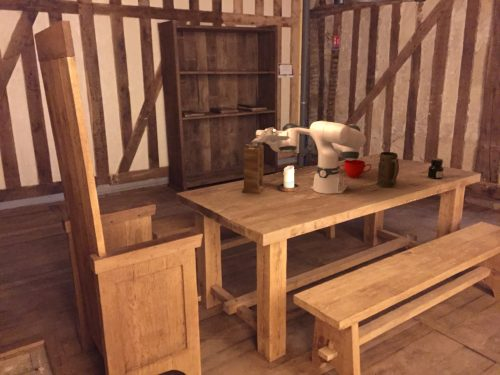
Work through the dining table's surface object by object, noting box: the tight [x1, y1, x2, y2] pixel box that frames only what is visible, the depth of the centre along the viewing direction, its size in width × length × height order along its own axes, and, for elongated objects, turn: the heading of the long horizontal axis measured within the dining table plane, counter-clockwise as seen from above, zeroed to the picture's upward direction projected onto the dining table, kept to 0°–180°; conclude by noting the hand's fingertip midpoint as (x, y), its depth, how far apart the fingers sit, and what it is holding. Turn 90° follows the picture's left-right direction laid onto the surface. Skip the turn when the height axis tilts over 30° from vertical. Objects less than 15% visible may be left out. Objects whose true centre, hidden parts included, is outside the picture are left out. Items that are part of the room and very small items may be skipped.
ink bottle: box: [427, 157, 444, 180], centre depth 280 cm, size 10×9×12 cm
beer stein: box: [376, 151, 400, 189], centre depth 258 cm, size 15×11×20 cm
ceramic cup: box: [343, 159, 372, 179], centre depth 280 cm, size 13×17×10 cm
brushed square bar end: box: [252, 127, 275, 146], centre depth 257 cm, size 26×3×3 cm, turn 156°
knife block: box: [241, 140, 266, 195], centre depth 247 cm, size 13×10×27 cm
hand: (270, 130), depth 265 cm, fingers closed on brushed square bar end, 3 cm apart
